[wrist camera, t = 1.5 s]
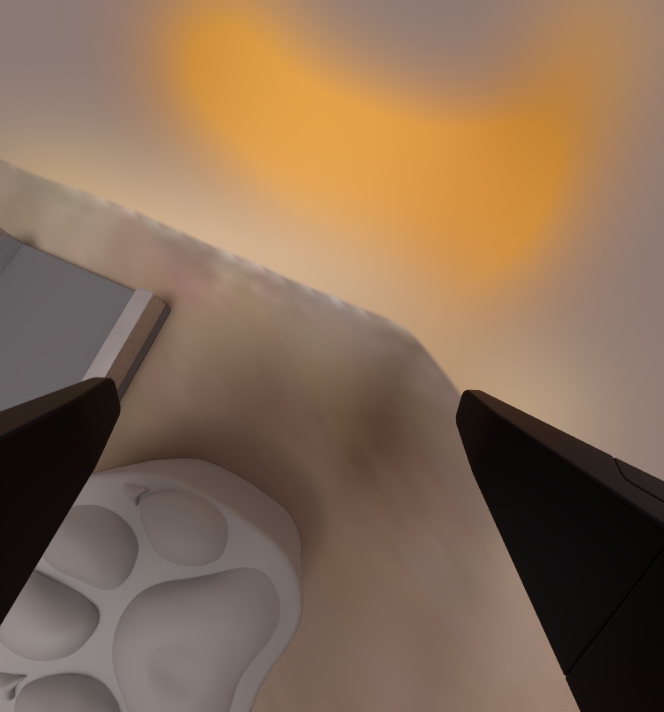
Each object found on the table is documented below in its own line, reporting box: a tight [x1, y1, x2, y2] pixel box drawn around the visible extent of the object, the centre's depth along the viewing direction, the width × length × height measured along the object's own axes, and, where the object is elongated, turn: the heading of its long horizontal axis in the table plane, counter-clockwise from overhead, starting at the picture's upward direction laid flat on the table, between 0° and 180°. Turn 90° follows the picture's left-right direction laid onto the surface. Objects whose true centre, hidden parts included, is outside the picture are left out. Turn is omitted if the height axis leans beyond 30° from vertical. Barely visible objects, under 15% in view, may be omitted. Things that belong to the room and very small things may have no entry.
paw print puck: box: [0, 458, 303, 712], centre depth 17 cm, size 10×13×9 cm
